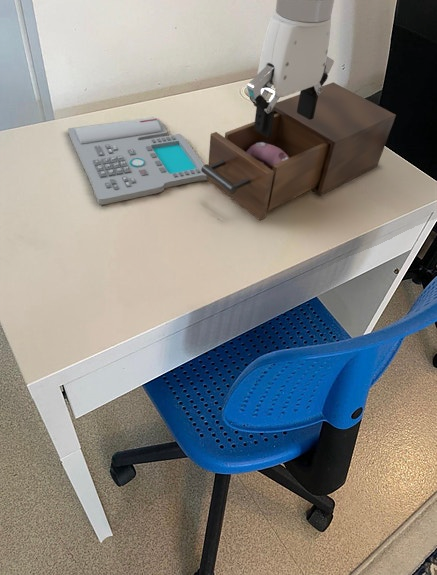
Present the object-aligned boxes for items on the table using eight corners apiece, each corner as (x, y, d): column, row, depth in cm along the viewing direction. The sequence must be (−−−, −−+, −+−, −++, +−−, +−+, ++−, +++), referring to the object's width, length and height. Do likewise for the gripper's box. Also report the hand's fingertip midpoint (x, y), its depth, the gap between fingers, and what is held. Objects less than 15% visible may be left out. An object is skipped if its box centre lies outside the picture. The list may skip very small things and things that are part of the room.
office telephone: (65, 121, 92) (166, 107, 99) (67, 134, 94) (167, 119, 100) (98, 192, 78) (214, 170, 85) (99, 206, 80) (213, 183, 86)
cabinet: (320, 196, 87) (335, 142, 79) (262, 157, 94) (271, 104, 86) (377, 166, 95) (396, 114, 87) (320, 132, 102) (333, 82, 94)
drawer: (240, 230, 77) (247, 183, 71) (187, 188, 84) (189, 141, 77) (323, 188, 87) (336, 143, 80) (270, 152, 93) (278, 108, 87)
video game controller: (285, 200, 84) (305, 162, 81) (271, 199, 81) (291, 159, 78) (245, 172, 89) (262, 136, 86) (229, 170, 85) (247, 132, 82)
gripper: (325, -12, 72) (303, 101, 85) (237, 7, 64) (227, 129, 76) (366, 3, 68) (337, 119, 81) (279, 26, 60) (261, 151, 72)
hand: (284, 124), depth 78 cm, fingers open, 9 cm apart
